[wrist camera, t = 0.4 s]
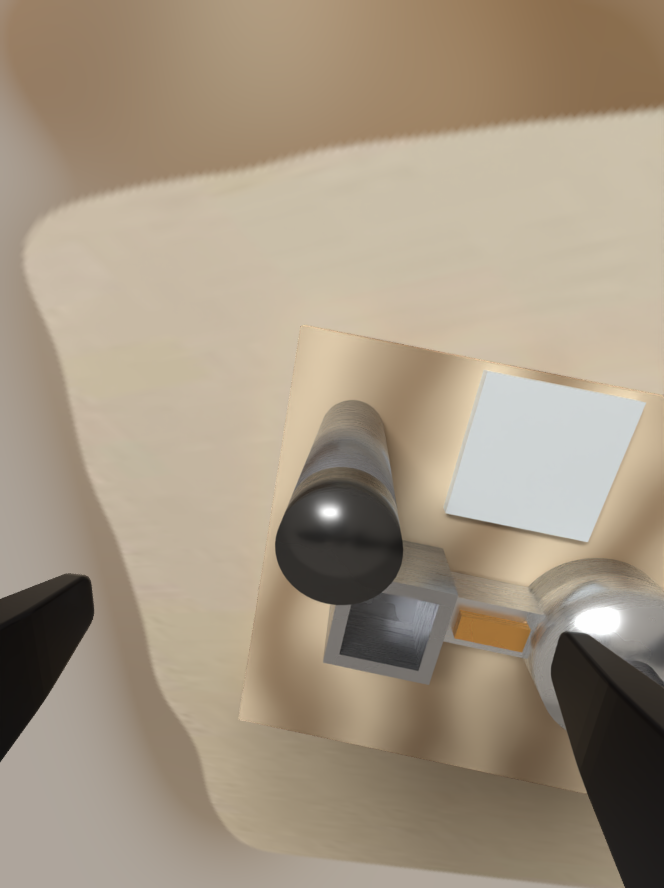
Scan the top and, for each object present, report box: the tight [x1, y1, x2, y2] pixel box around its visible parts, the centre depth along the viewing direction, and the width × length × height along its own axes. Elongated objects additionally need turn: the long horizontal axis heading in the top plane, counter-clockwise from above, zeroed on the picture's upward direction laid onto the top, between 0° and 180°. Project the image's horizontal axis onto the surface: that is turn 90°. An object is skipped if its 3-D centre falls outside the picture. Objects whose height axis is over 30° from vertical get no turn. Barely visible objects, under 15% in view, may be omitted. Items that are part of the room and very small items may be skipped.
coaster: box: [443, 370, 646, 542], centre depth 18 cm, size 6×6×1 cm
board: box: [238, 325, 664, 794], centre depth 21 cm, size 20×22×2 cm
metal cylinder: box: [275, 400, 403, 605], centre depth 14 cm, size 3×3×10 cm
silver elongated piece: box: [323, 540, 664, 730], centre depth 18 cm, size 16×7×6 cm, turn 79°
